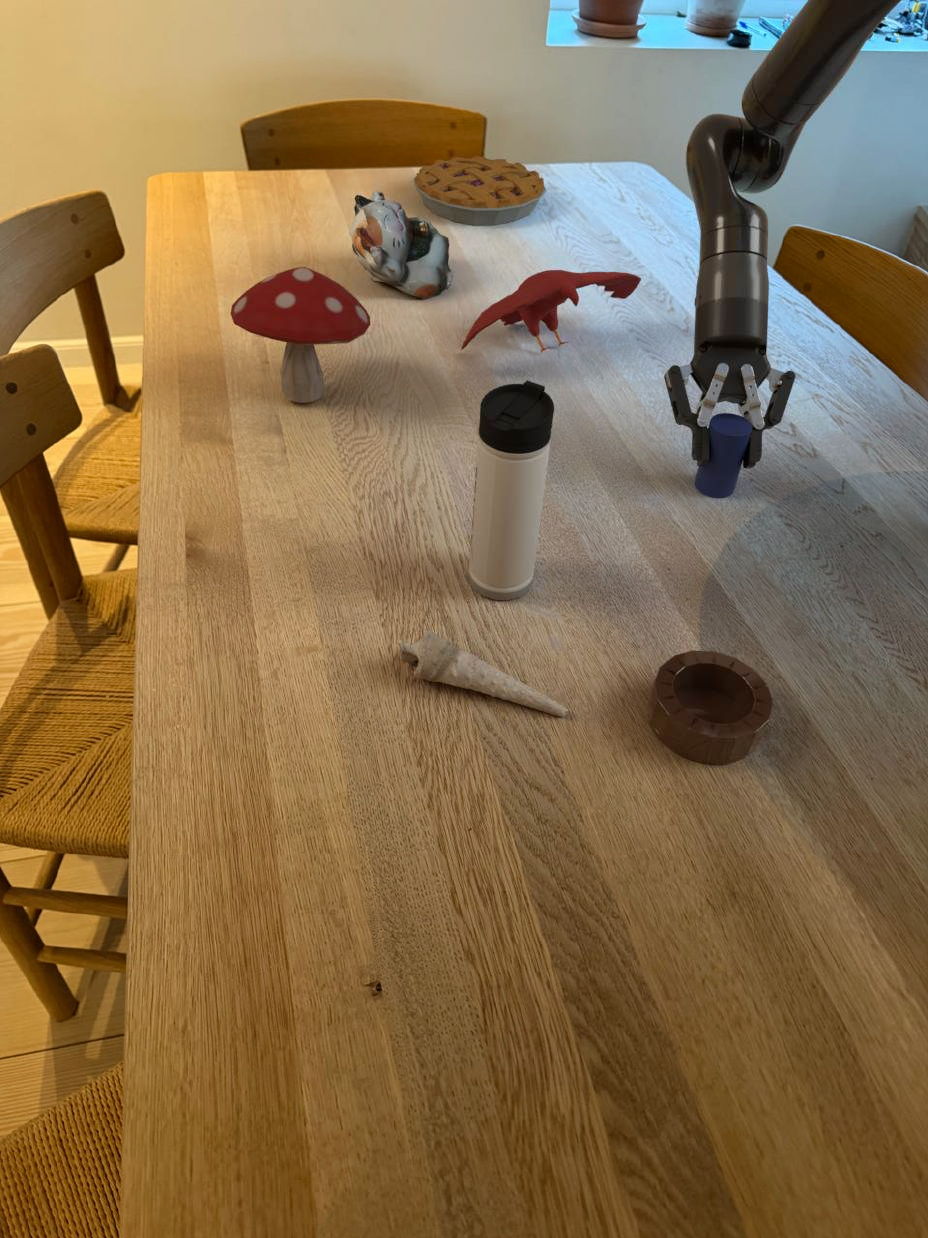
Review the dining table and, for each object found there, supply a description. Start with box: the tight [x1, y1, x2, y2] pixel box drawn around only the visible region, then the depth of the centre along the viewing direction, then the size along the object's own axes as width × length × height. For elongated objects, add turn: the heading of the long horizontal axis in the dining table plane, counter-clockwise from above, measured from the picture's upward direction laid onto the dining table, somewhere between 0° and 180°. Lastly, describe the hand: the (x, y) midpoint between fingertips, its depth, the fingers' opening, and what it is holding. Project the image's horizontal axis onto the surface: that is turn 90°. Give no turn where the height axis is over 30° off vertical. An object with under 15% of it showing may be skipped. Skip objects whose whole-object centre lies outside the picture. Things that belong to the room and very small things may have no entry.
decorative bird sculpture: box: [460, 269, 642, 353], centre depth 125 cm, size 28×9×15 cm
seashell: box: [397, 629, 569, 718], centre depth 81 cm, size 4×16×4 cm, turn 71°
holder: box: [647, 650, 774, 766], centre depth 80 cm, size 10×10×4 cm
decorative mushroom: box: [230, 266, 371, 404], centre depth 111 cm, size 16×16×15 cm
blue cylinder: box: [694, 412, 752, 499], centre depth 103 cm, size 4×4×8 cm
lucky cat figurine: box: [349, 190, 454, 300], centre depth 135 cm, size 15×12×14 cm
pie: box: [412, 155, 547, 226], centre depth 160 cm, size 22×22×5 cm
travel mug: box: [467, 380, 555, 601], centre depth 86 cm, size 6×7×20 cm
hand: (726, 465), depth 102 cm, fingers closed on blue cylinder, 4 cm apart
